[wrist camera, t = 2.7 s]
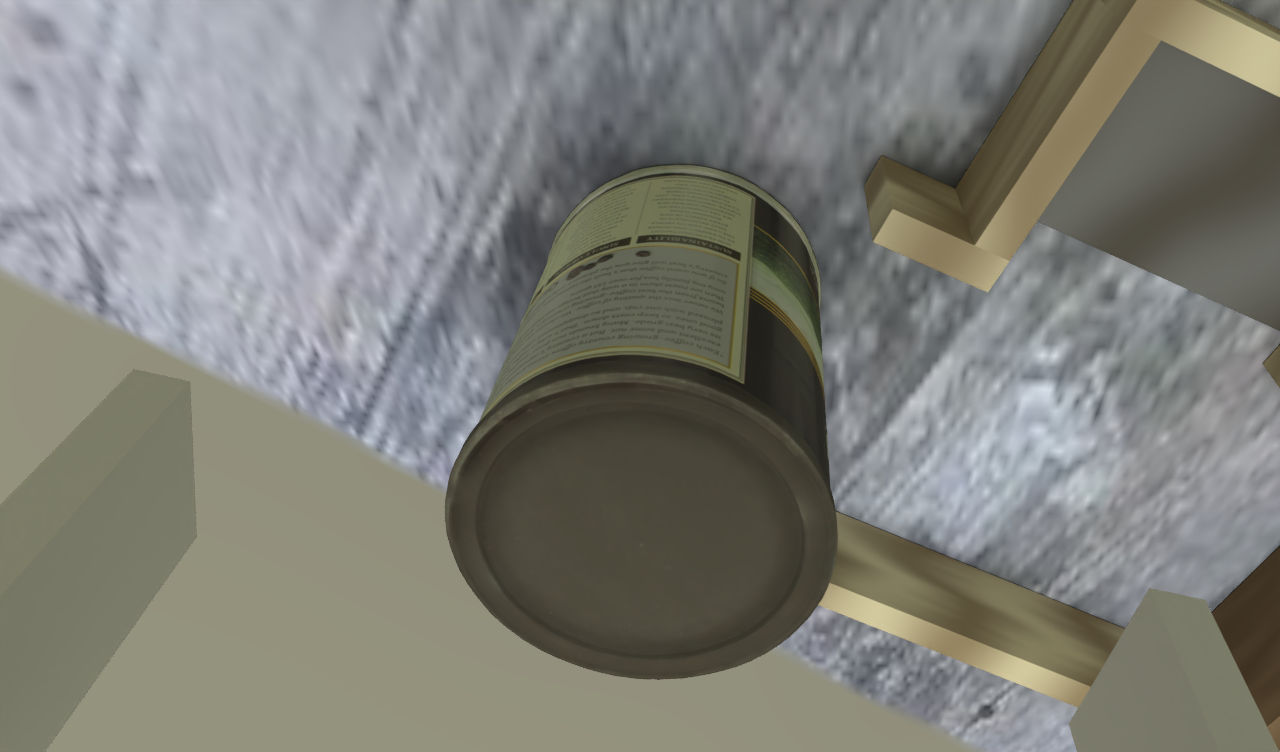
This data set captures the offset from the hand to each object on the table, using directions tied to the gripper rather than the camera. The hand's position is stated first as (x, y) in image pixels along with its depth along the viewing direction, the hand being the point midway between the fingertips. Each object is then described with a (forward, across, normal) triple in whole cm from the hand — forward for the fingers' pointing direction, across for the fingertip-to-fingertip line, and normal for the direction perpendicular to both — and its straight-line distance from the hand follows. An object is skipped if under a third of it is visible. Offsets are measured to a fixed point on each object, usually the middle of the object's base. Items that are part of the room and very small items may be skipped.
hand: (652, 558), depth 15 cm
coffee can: (+24, 0, -8) cm, 26 cm away
